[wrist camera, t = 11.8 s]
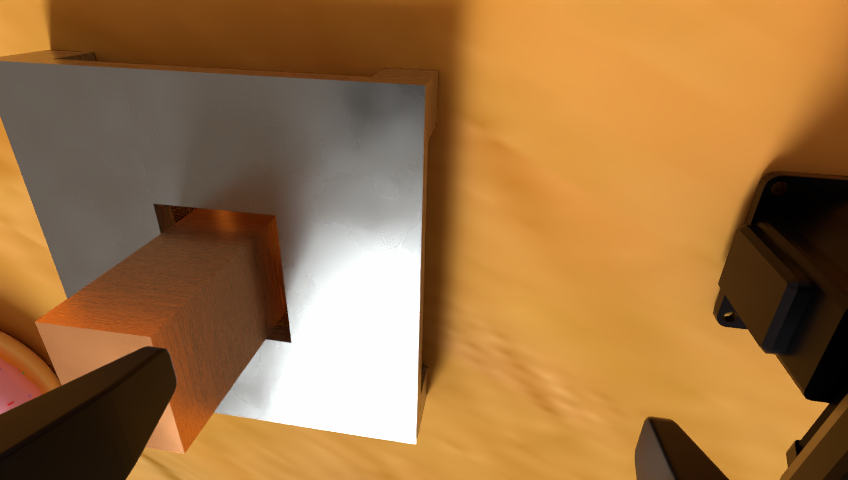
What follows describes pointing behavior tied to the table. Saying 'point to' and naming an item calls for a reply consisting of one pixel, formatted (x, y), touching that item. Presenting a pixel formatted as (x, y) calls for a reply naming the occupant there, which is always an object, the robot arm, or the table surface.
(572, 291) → the table surface
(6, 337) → the doughnut
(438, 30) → the table surface
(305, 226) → the slotted plate
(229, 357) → the square wooden peg
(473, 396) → the table surface
